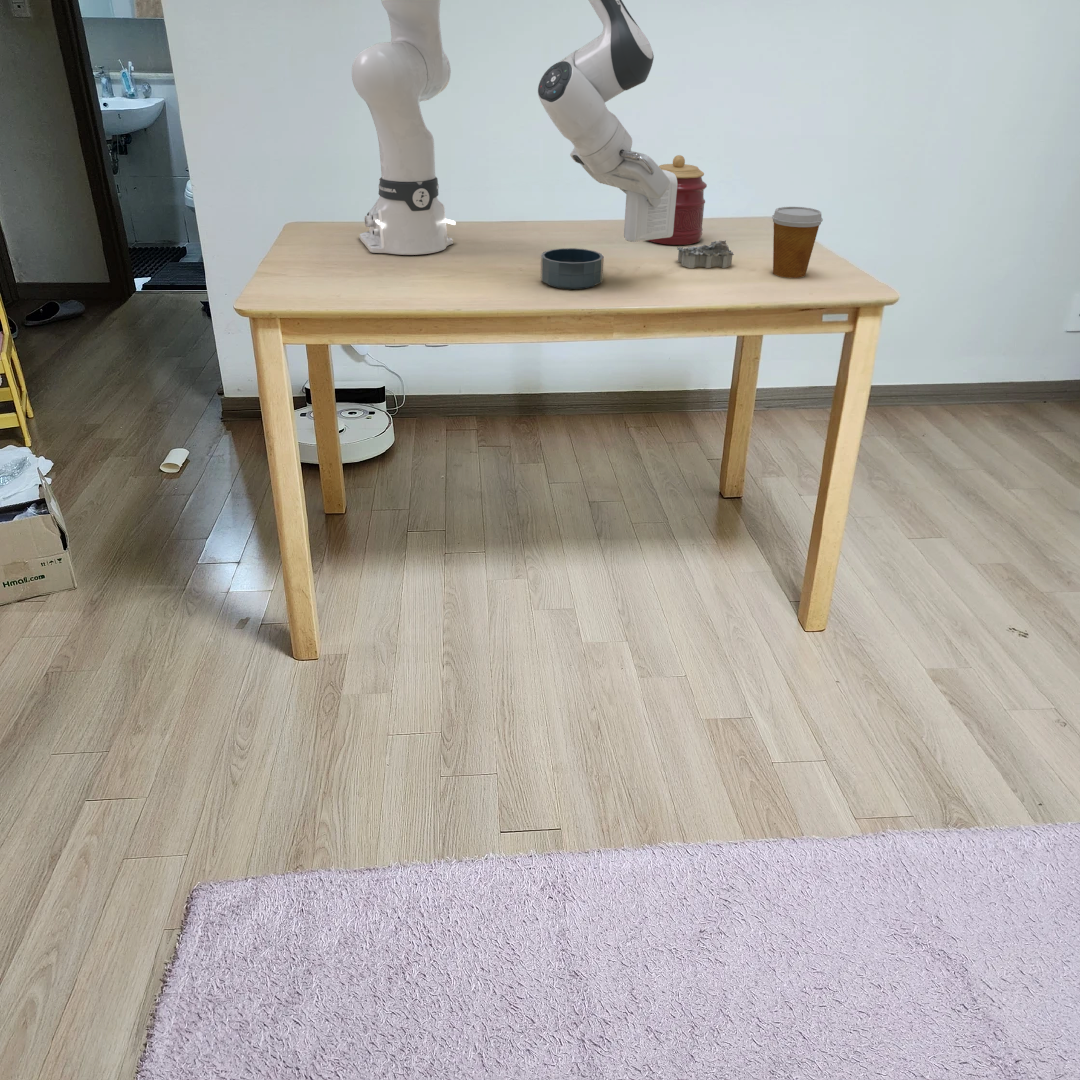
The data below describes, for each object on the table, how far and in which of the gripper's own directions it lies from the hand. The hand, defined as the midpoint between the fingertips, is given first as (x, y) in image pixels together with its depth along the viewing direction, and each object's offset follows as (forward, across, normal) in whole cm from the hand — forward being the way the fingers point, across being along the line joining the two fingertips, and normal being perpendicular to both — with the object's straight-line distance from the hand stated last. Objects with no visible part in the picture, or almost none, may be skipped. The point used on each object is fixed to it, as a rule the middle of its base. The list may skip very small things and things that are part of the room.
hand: (647, 201), depth 174 cm
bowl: (0, +4, +20) cm, 20 cm away
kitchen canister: (+28, +24, -8) cm, 38 cm away
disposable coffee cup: (+30, -11, -9) cm, 33 cm away
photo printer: (+6, 0, +4) cm, 7 cm away
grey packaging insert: (+23, +3, -2) cm, 23 cm away
